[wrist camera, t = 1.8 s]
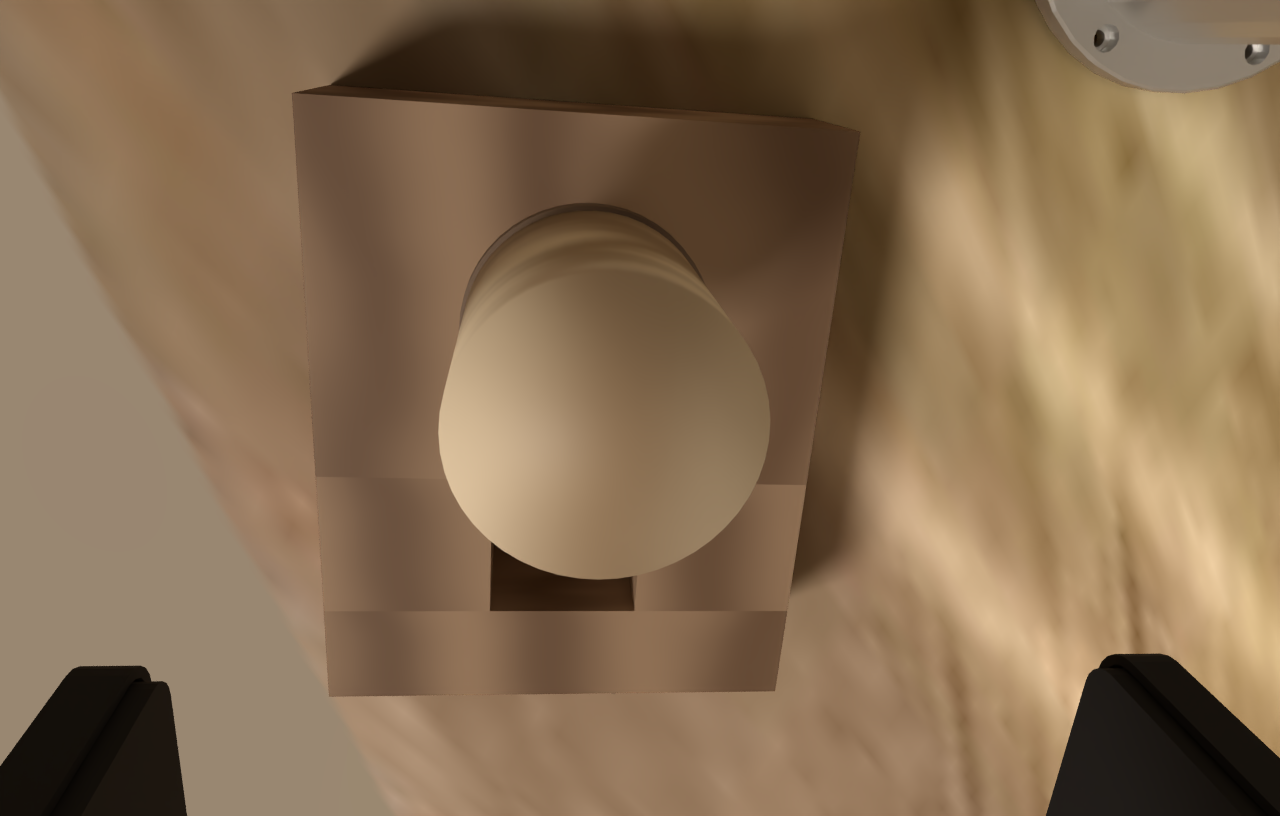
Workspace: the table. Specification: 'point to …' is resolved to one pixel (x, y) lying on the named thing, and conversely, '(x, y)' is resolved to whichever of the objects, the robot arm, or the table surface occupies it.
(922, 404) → the table surface
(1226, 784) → the robot arm
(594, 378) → the peg
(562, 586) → the board
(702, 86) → the table surface
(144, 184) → the table surface
